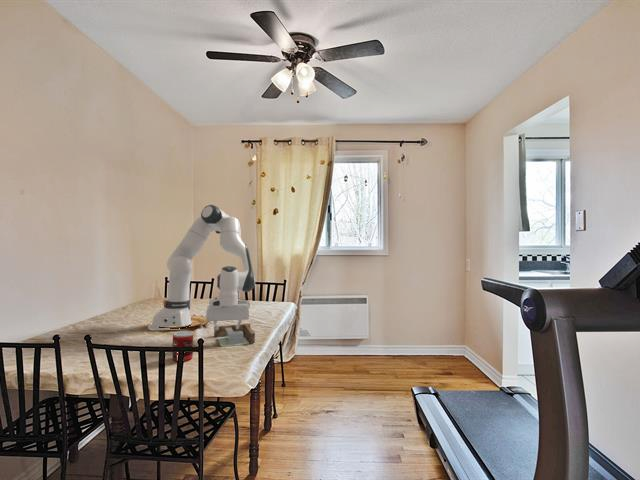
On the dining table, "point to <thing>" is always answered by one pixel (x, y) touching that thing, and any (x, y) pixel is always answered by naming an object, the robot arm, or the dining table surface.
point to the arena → (242, 327)
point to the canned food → (183, 343)
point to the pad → (224, 343)
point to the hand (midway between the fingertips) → (227, 329)
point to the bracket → (233, 336)
